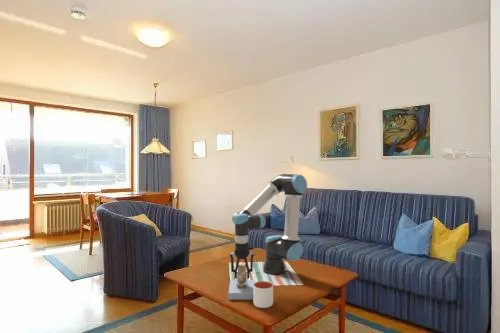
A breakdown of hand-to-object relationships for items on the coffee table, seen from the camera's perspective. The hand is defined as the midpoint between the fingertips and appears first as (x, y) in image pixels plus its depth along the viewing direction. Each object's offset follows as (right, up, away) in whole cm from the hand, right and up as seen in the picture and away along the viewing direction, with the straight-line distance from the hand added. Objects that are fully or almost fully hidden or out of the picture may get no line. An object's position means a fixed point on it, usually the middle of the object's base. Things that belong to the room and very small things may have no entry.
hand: (242, 284), depth 172 cm
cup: (+11, -5, -15) cm, 19 cm away
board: (0, -5, 0) cm, 5 cm away
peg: (0, -2, 0) cm, 2 cm away
